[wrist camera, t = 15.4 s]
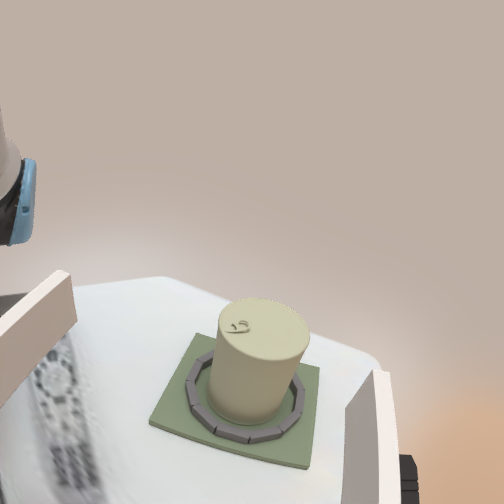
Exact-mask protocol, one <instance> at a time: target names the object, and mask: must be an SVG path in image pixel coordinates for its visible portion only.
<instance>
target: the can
mask: <svg viewBox="0 0 504 504" xmlns="http://www.w3.org/2000/svg"><path fill="white" fill-rule="evenodd" d="M309 341H310V332H309V329H308V326H307V324H306V322H305V321H304V320H303V318H302V317H301V316H300V315H299V314H297V313H296V312H295V311H294V310H292V309H290V308H289V307H287V306H285V305H283V304H281V303H278V302H275V301H272V300H268V299H262V298H246V299H240V300H237V301H234V302H232V303H230V304H229V305H227V306H226V307H225V308H224V309H223V310H222V312H221V313H220V316H219V320H218V331H217V338H216V344H215V350H214V356H213V362H212V368H211V373H210V378H209V381H208V384H207V388H206V395H207V399H208V402H209V404H210V406H211V407H212V409H213V410H214V411H215V412H216V413H217V414H218V415H219V416H221V417H222V418H224V419H225V420H227V421H229V422H232V423H235V424H239V425H246V426H252V425H258V424H262V423H265V422H267V421H269V420H270V419H272V418H273V417H274V416H275V415H276V414H277V413H278V411H279V410H280V407H281V404H282V400H283V398H284V395H285V393H286V391H287V389H288V386H289V384H290V382H291V380H292V378H293V376H294V373H295V371H296V369H297V367H298V364H299V362H300V360H301V358H302V356H303V353H304V351H305V349H306V348H307V346H308V344H309Z"/></svg>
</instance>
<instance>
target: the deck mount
mask: <svg viewBox="0 0 504 504" xmlns="http://www.w3.org/2000/svg"><path fill="white" fill-rule="evenodd" d="M215 344H216V339H214V338H211V337H208V336H205V335H202V334H199V333H196V334H195V336H194V338H193V340H192V342H191V343H190V345H189V347H188V349H187V351H186V353H185V354H184V356H183V358H182V360H181V362H180V363H179V365H178V367H177V369H176V371H175V373H174V374H173V376H172V378H171V380H170V382H169V383H168V385H167V387H166V389H165V391H164V393H163V394H162V396H161V398H160V400H159V402H158V404H157V405H156V407H155V409H154V411H153V413H152V415H151V416H150V418H149V424H151V425H153V426H155V427H158V428H160V429H163V430H166V431H168V432H171V433H173V434H176V435H179V436H182V437H184V438H187V439H190V440H193V441H196V442H199V443H202V444H205V445H208V446H211V447H214V448H218V449H221V450H224V451H228V452H231V453H235V454H239V455H242V456H246V457H250V458H254V459H258V460H262V461H266V462H271V463H275V464H280V465H285V466H290V467H295V468H300V469H306V470H307V469H308V468H309V467H310V460H311V452H312V444H313V435H314V426H315V416H316V406H317V395H318V383H319V369H320V367H315V366H311V365H307V364H303V363H299V364H298V367H297V369H296V371H295V373H294V376H293V378H292V380H291V382H290V384H289V386H288V389H287V391H286V393H285V395H284V398H283V400H282V404H281V407H280V410H279V411H278V413H277V414H276V415H275V416H274V417H273V418H272V419H270V420H269V421H267V422H265V423H262V424H258V425H252V426H246V425H239V424H235V423H232V422H229V421H227V420H225V419H224V418H222V417H221V416H219V415H218V414H217V413H216V412H215V411H214V410H213V409H212V407H211V406H210V404H209V402H208V399H207V395H206V388H207V384H208V381H209V378H210V373H211V368H212V362H213V356H214V350H215Z"/></svg>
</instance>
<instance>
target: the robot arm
mask: <svg viewBox="0 0 504 504" xmlns="http://www.w3.org/2000/svg"><path fill="white" fill-rule="evenodd" d="M35 188H36V162H35V161H34V160H32V159H28V158H24V159H23V160H21V156H20V152H19V149H18V148H17V146H16V145H15V144H14V143H13V142H12V141H11V140H9V139H8V138H5V133H4V128H3V122H2V116H1V109H0V245H7V246H11V245H13V244H20V243H25V242H27V241H28V239H29V238H30V237H31V234H32V229H33V218H34V204H35ZM76 322H77V316H76V310H75V304H74V297H73V291H72V284H71V276H70V274H68V273H66V272H64V271H61V270H59V269H58V270H57V271H55V272H54V273H53V274H52V275H51V276H49V277H48V278H46V279H45V280H44V281H43V282H42V283H40V284H39V285H38V286H37V287H35V288H34V289H33V290H32V291H31V292H29V293H28V294H27V295H26V296H25V297H23V298H22V299H21V300H20V301H19V302H18V303H16V304H15V305H14V306H13V307H12V308H11V309H9V310H8V311H7V312H6V313H5V314H4V315H3V316H2V317H1V316H0V408H1V407H2V406H3V405H4V403H5V402H6V401H7V400H8V398H9V397H10V396H11V395H12V394H13V392H14V391H15V390H16V389H17V388H18V386H19V385H20V384H21V383H22V382H23V381H24V379H25V378H26V377H27V376H28V375H29V374H30V372H31V371H32V370H33V369H34V368H35V367H36V366H37V364H38V363H39V362H40V361H41V360H42V359H43V358H44V357H45V355H46V354H47V353H48V352H49V351H50V350H51V349H52V348H53V347H54V345H55V344H56V343H57V342H58V341H59V340H60V339H61V338H62V337H63V336H64V335H65V334H66V332H67V331H68V330H69V329H70V328H71V327H72V326H73V325H74V324H75V323H76ZM397 440H398V439H397V430H396V419H395V411H394V402H393V394H392V387H391V380H390V373H389V372H385V371H380V370H375V369H372V371H371V372H370V374H369V375H368V377H367V378H366V380H365V381H364V383H363V384H362V386H361V387H360V389H359V390H358V391H357V393H356V394H355V396H354V397H353V398H352V400H351V401H350V403H349V404H348V405H347V407H346V408H345V444H344V466H343V483H342V497H341V504H419V492H418V490H419V487H418V482H417V480H418V474H417V466H416V464H415V462H414V460H413V458H412V456H411V455H400V454H399V452H398V441H397Z"/></svg>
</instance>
